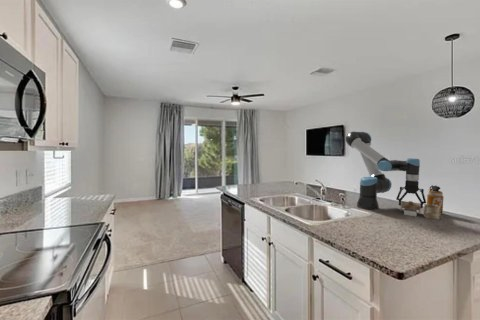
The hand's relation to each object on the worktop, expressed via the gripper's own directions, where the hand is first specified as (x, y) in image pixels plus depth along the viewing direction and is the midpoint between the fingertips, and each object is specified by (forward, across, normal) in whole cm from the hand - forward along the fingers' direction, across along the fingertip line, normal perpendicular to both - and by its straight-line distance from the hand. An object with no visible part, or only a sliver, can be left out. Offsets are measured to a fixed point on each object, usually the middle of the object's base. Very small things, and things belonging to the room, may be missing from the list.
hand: (410, 211), depth 169 cm
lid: (-3, 0, 0) cm, 3 cm away
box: (+2, +12, 0) cm, 12 cm away
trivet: (+2, 0, 0) cm, 2 cm away
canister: (+2, +14, +13) cm, 19 cm away
